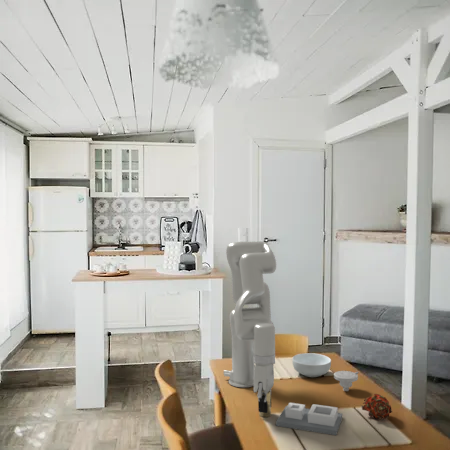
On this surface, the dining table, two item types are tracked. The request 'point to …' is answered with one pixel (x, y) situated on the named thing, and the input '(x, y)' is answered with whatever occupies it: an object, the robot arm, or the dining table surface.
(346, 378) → the showerhead
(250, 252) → the robot arm
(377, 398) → the dragon fruit
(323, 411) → the socket board
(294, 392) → the dining table surface
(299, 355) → the cereal bowl
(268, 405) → the gold rounded cylinder
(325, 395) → the dining table surface
